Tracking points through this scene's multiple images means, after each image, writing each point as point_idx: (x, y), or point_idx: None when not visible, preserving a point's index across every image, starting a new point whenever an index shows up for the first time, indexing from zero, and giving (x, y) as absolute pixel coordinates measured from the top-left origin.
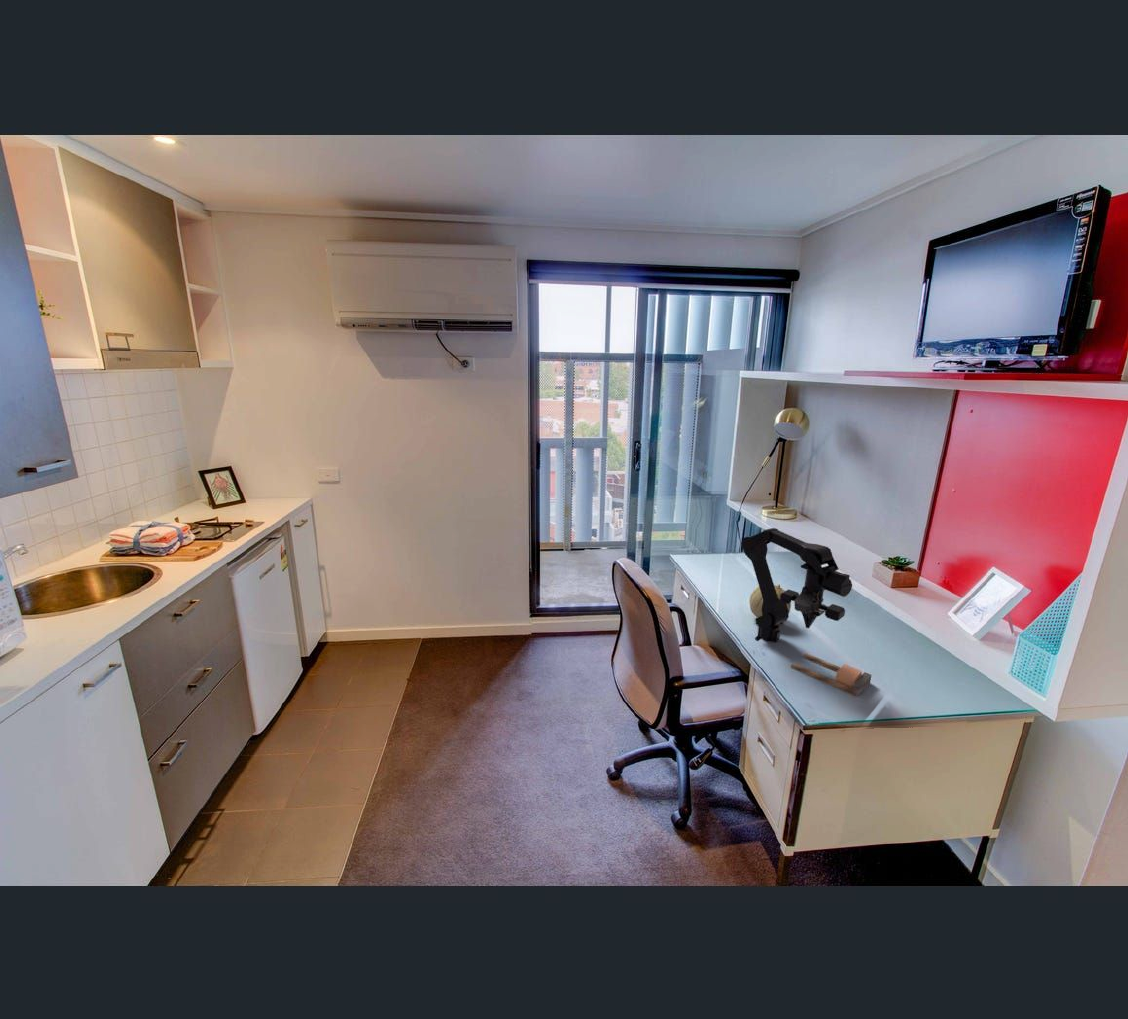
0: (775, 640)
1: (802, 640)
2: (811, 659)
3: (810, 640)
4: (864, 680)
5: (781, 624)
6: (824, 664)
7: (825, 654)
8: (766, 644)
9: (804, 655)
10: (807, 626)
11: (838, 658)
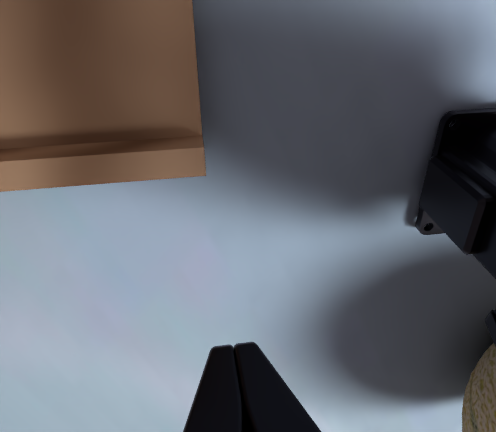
0: (446, 165)
1: (308, 320)
2: (130, 143)
3: (275, 349)
4: None
5: (491, 311)
6: (17, 153)
7: (142, 298)
8: (478, 108)
9: (192, 143)
10: (231, 368)
11: (69, 317)
